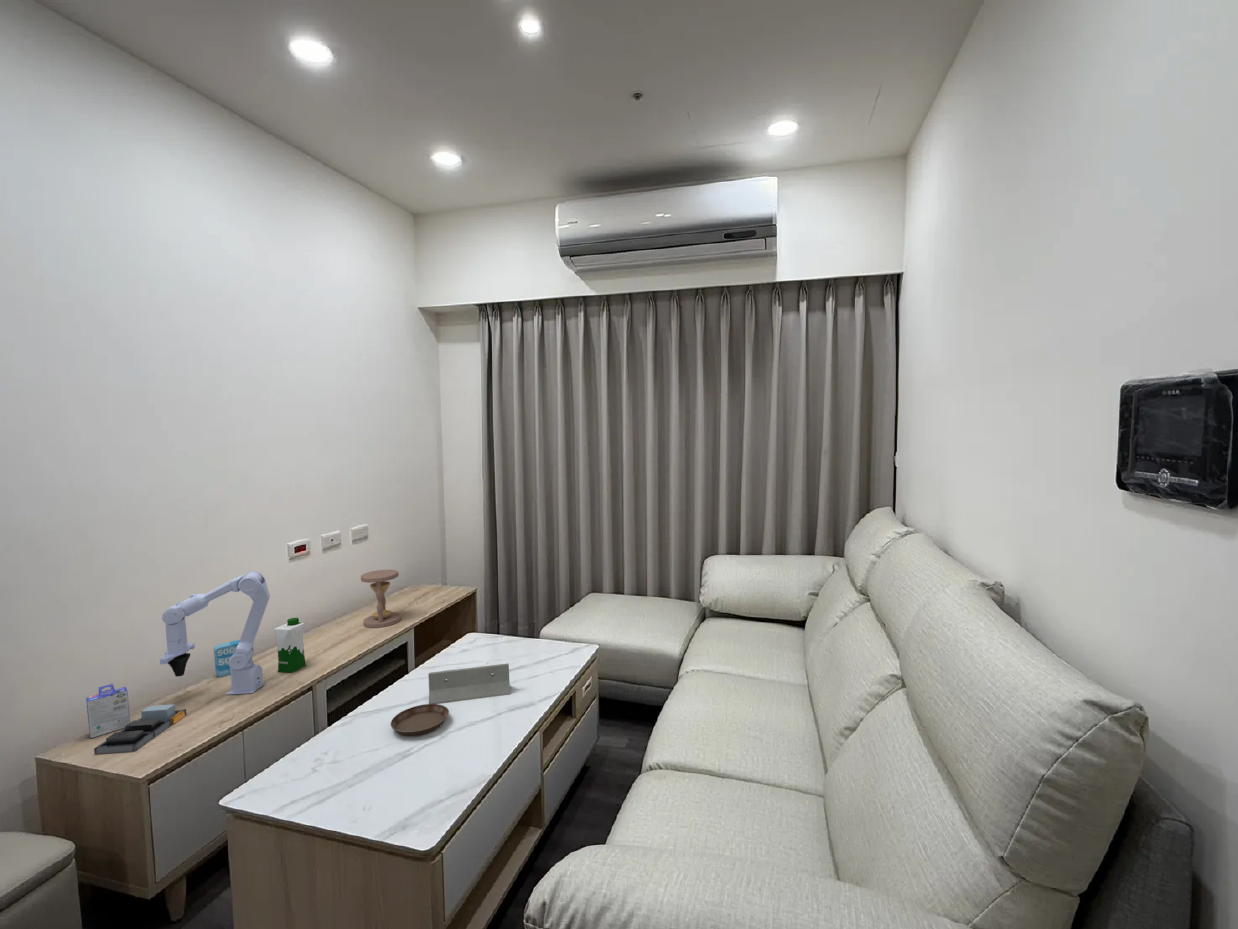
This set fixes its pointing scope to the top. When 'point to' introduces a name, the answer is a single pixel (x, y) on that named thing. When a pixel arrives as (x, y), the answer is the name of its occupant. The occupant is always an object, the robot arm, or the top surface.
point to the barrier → (469, 683)
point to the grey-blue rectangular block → (158, 712)
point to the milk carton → (290, 646)
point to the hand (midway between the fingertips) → (179, 675)
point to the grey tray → (137, 734)
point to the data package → (224, 657)
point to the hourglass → (380, 598)
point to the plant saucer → (419, 720)
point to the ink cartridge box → (108, 710)
